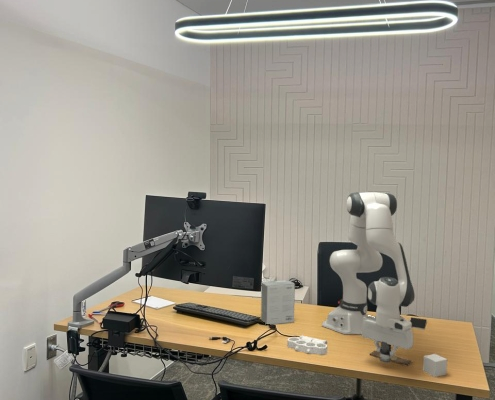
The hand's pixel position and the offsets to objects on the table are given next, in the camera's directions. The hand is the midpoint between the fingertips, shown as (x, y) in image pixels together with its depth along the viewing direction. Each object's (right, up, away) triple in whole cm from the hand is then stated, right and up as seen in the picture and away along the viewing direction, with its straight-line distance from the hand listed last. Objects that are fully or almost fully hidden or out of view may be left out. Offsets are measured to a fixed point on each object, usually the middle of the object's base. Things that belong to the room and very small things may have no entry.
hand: (385, 353), depth 187 cm
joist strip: (+4, -5, +8) cm, 10 cm away
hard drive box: (-39, -1, +52) cm, 65 cm away
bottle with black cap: (0, -3, 0) cm, 3 cm away
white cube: (+18, -6, -5) cm, 19 cm away
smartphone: (+32, -3, +53) cm, 62 cm away
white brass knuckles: (-28, -4, +18) cm, 34 cm away
